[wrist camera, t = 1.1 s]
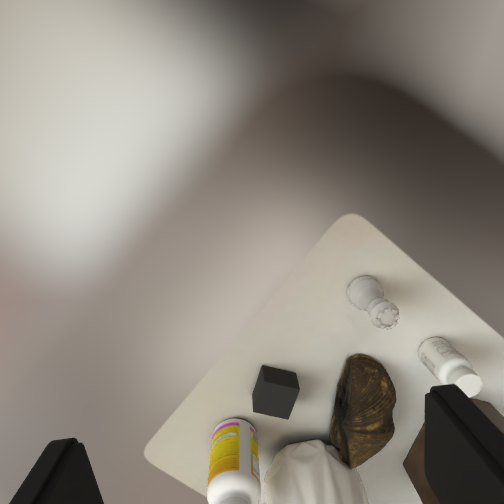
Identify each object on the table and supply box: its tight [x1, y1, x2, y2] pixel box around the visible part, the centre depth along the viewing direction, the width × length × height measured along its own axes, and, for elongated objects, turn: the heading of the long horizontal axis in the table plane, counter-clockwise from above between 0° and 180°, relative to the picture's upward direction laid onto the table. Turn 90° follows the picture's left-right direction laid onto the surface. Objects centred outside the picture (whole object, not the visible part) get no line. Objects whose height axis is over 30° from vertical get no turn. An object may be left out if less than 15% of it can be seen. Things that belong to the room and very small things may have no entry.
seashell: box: [330, 355, 396, 470], centre depth 47 cm, size 16×9×7 cm, turn 177°
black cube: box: [252, 365, 300, 419], centre depth 47 cm, size 5×5×4 cm
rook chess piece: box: [347, 276, 400, 330], centre depth 41 cm, size 4×4×8 cm
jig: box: [403, 398, 504, 504], centre depth 44 cm, size 14×8×16 cm, turn 164°
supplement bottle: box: [207, 419, 261, 504], centre depth 44 cm, size 7×7×13 cm
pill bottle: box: [419, 337, 482, 398], centre depth 44 cm, size 4×4×8 cm
